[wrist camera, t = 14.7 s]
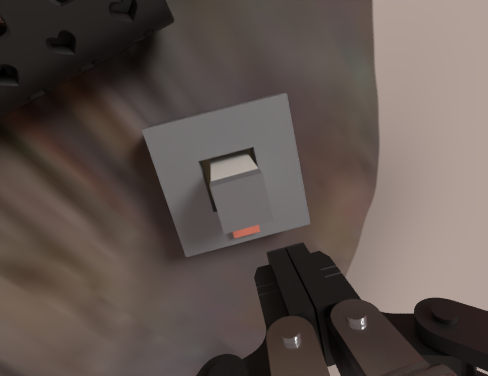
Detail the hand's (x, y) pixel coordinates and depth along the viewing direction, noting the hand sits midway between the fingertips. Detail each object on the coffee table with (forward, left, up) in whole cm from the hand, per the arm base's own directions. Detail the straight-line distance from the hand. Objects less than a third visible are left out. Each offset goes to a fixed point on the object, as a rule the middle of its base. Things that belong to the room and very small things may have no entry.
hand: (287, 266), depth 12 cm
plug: (+1, -1, -22) cm, 22 cm away
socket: (+1, -1, -23) cm, 23 cm away
